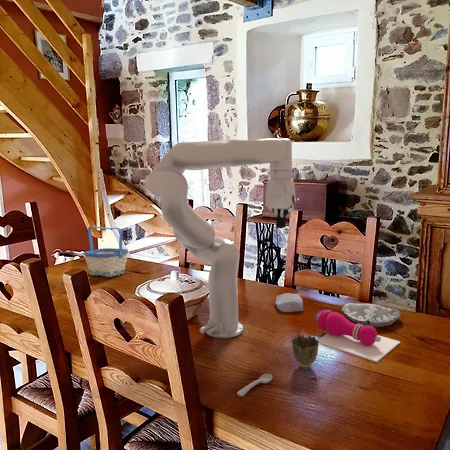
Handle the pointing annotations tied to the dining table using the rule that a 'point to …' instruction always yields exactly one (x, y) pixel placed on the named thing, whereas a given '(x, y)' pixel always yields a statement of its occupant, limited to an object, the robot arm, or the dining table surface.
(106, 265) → the basket
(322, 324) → the pepper mill
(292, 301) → the stone block
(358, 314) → the brain slice
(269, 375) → the spoon
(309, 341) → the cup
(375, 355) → the white mat
